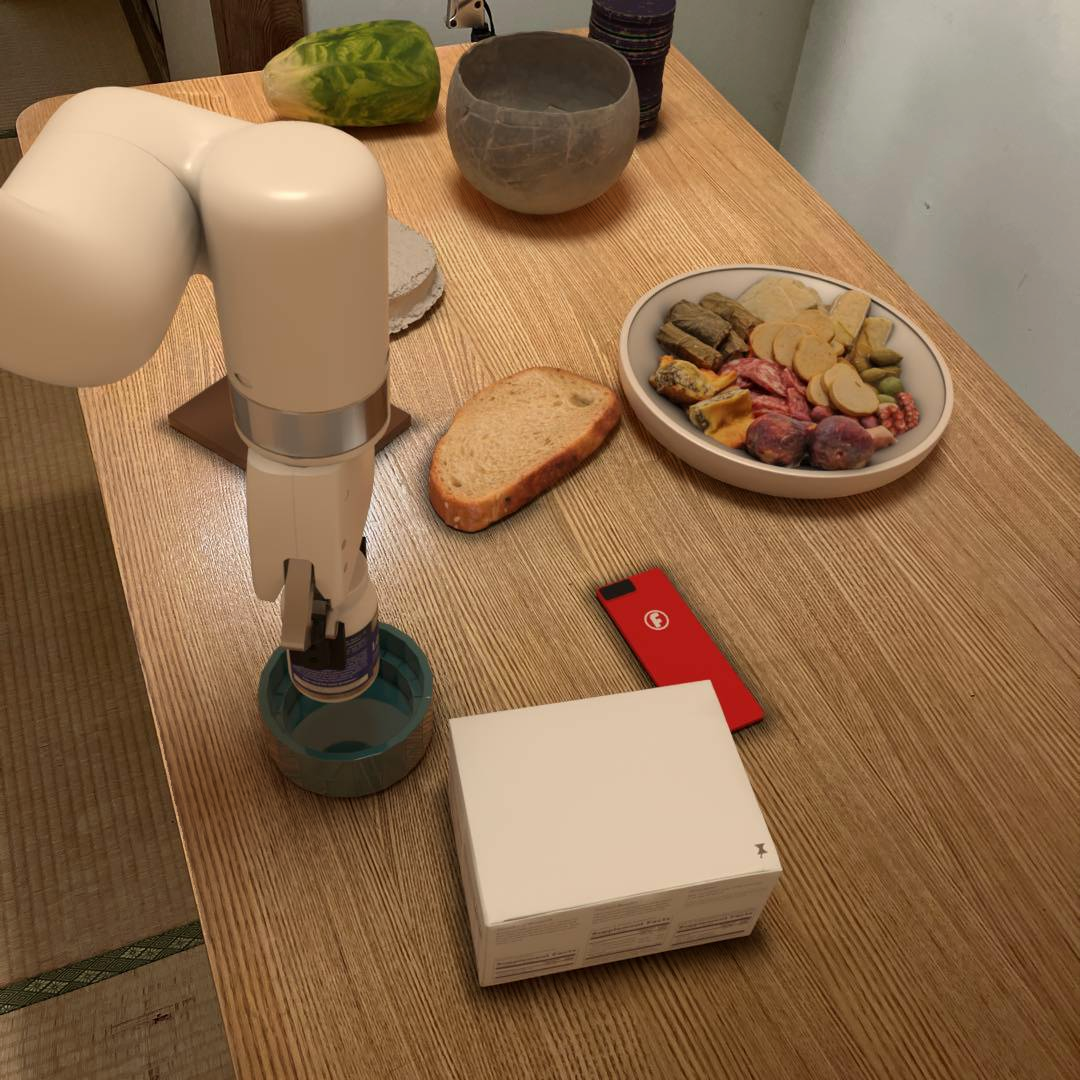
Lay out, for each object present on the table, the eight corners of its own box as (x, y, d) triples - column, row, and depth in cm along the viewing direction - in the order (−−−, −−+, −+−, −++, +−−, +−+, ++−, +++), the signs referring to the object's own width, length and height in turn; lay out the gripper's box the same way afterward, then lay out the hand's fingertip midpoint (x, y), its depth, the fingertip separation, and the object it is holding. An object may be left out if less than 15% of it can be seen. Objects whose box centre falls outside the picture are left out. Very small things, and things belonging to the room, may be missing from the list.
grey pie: (196, 305, 104) (184, 243, 98) (317, 212, 116) (312, 153, 111) (372, 376, 98) (369, 315, 93) (479, 271, 111) (481, 212, 106)
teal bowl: (231, 740, 72) (220, 699, 69) (342, 634, 79) (338, 591, 75) (359, 832, 69) (355, 793, 65) (465, 712, 75) (466, 671, 71)
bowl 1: (488, 135, 130) (493, 6, 119) (649, 177, 126) (670, 48, 115) (414, 217, 117) (412, 80, 105) (591, 267, 113) (608, 131, 101)
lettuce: (257, 110, 130) (245, 14, 121) (422, 92, 136) (421, -1, 127) (278, 157, 123) (266, 59, 114) (450, 136, 129) (451, 41, 120)
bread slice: (433, 536, 86) (433, 503, 83) (415, 389, 98) (414, 356, 95) (651, 521, 89) (658, 489, 86) (608, 380, 100) (613, 348, 98)
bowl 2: (575, 319, 106) (583, 250, 101) (848, 292, 113) (871, 226, 107) (674, 541, 87) (691, 472, 82) (996, 493, 94) (1033, 426, 88)
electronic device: (765, 718, 76) (658, 570, 85) (766, 714, 76) (659, 565, 85) (695, 747, 74) (593, 592, 83) (697, 743, 74) (594, 588, 83)
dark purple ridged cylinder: (658, 146, 131) (683, -8, 117) (577, 138, 131) (593, -17, 117) (656, 108, 138) (680, -43, 124) (580, 100, 137) (596, -51, 124)
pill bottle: (395, 683, 68) (394, 584, 61) (311, 720, 66) (300, 622, 59) (355, 619, 71) (350, 518, 64) (274, 653, 69) (258, 551, 62)
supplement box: (687, 752, 74) (713, 674, 67) (751, 938, 66) (788, 871, 59) (444, 790, 71) (445, 712, 64) (479, 991, 63) (484, 926, 56)
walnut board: (169, 425, 92) (166, 414, 91) (276, 351, 100) (274, 341, 99) (310, 509, 87) (308, 498, 86) (411, 424, 94) (411, 414, 94)
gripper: (276, 278, 57) (300, 510, 71) (179, 510, 46) (230, 736, 59) (416, 295, 57) (414, 524, 71) (355, 531, 46) (366, 751, 59)
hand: (330, 618), depth 65 cm, fingers closed on pill bottle, 5 cm apart
